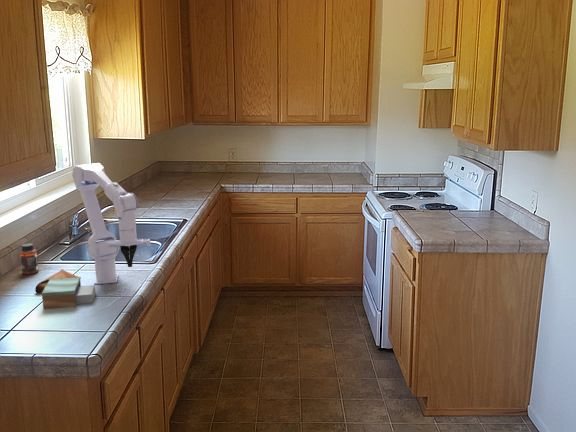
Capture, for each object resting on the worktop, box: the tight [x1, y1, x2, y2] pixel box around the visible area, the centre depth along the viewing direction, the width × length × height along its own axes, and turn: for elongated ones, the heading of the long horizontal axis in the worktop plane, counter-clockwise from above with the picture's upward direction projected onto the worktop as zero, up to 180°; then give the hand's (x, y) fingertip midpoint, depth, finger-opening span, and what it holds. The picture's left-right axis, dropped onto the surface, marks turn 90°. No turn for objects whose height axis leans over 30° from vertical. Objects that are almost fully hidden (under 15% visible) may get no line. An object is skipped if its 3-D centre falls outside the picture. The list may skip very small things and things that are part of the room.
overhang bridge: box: [41, 276, 82, 310], centre depth 188 cm, size 13×10×6 cm
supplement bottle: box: [19, 242, 39, 275], centre depth 216 cm, size 6×6×11 cm
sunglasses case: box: [34, 268, 82, 295], centre depth 203 cm, size 18×7×7 cm
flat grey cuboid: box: [75, 284, 96, 305], centre depth 189 cm, size 9×14×3 cm, turn 102°
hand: (130, 266), depth 195 cm, fingers closed
